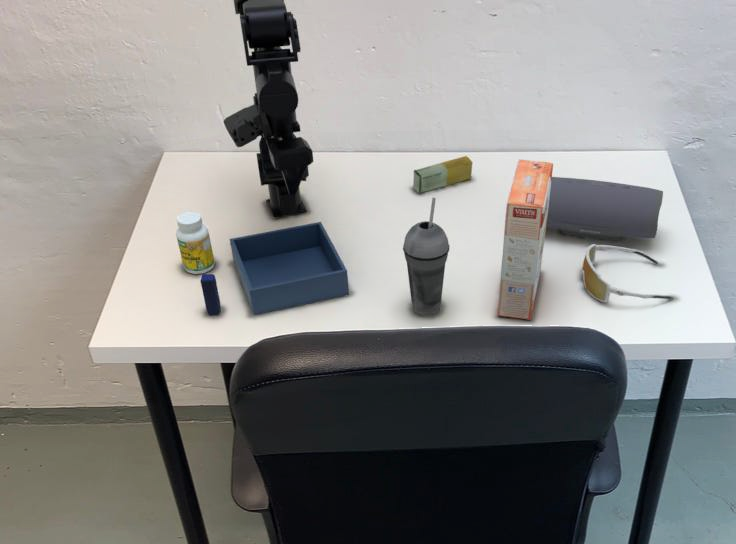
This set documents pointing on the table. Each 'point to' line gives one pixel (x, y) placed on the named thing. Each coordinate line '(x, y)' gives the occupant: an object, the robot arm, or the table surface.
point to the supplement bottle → (194, 243)
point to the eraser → (210, 294)
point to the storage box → (289, 267)
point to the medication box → (442, 174)
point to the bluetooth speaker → (603, 209)
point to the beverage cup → (426, 264)
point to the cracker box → (524, 238)
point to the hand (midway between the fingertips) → (286, 181)
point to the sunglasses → (598, 285)
